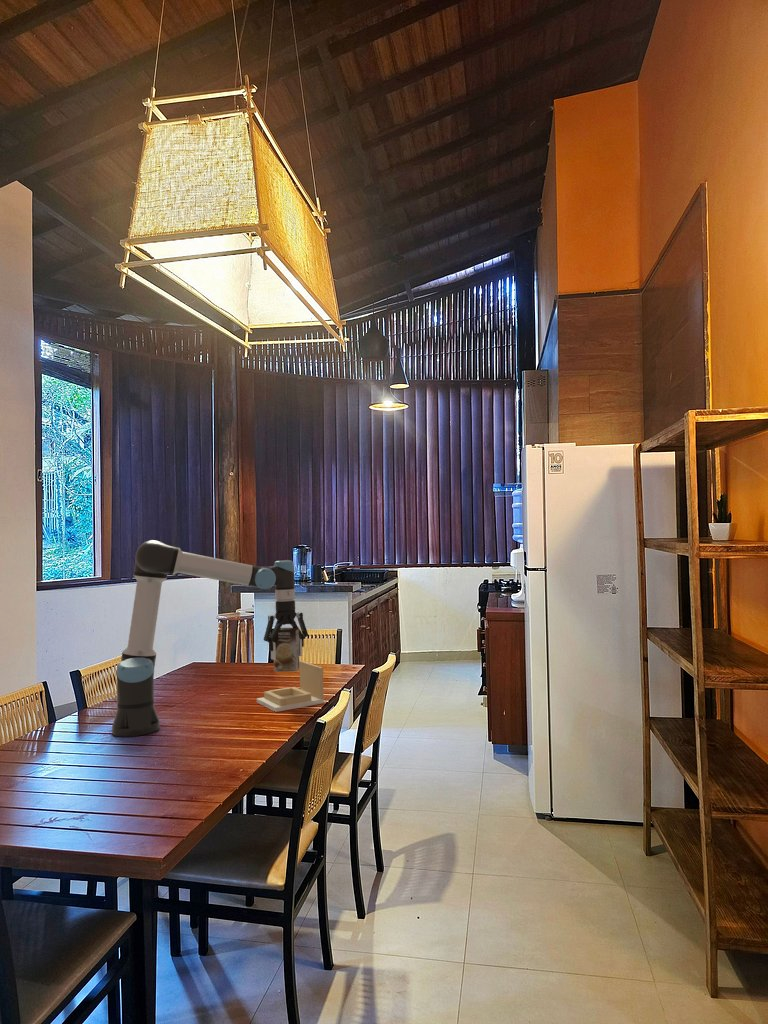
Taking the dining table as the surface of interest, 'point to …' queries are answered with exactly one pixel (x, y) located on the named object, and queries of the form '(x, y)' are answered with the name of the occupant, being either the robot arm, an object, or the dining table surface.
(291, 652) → the coffee box
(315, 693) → the display stand
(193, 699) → the dining table surface
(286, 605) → the robot arm
